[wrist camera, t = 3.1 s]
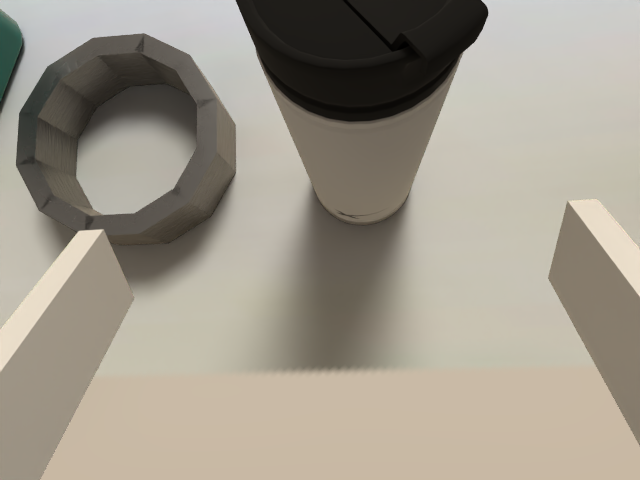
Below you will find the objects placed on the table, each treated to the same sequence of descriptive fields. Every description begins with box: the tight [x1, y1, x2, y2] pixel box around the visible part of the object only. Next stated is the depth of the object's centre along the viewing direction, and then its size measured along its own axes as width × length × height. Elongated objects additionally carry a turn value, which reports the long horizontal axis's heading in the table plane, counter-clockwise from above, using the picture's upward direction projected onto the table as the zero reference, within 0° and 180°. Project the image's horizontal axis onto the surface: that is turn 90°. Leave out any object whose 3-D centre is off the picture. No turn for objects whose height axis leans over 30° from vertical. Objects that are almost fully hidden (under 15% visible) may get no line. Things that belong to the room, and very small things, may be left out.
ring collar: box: [16, 34, 236, 245], centre depth 30 cm, size 12×12×4 cm
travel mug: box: [236, 0, 488, 225], centre depth 20 cm, size 6×7×20 cm
